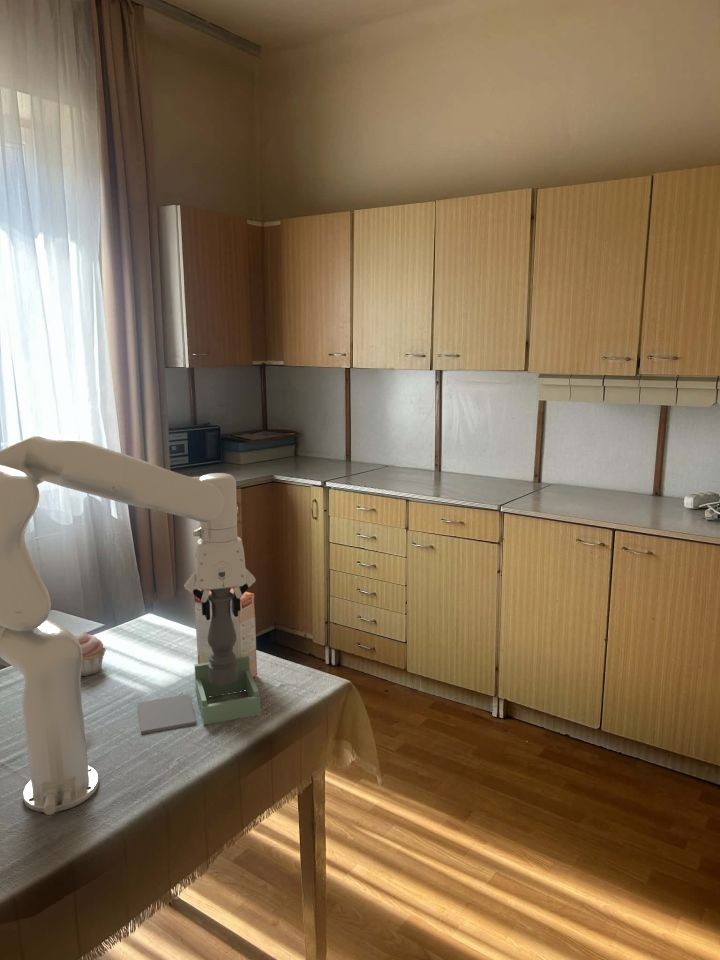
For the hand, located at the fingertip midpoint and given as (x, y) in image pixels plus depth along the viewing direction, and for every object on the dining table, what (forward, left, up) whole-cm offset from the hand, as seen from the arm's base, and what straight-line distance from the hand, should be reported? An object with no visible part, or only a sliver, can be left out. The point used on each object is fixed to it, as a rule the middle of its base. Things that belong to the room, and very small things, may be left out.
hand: (221, 615), depth 155 cm
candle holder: (0, 0, -15) cm, 15 cm away
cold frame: (0, 0, -21) cm, 21 cm away
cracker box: (+15, -3, -22) cm, 27 cm away
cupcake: (+28, +29, -22) cm, 46 cm away
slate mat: (+1, +13, -21) cm, 25 cm away
